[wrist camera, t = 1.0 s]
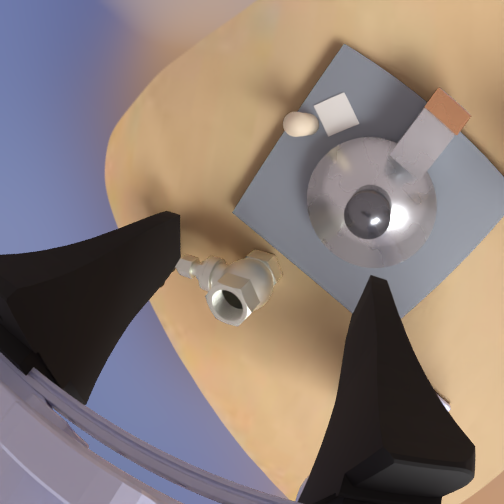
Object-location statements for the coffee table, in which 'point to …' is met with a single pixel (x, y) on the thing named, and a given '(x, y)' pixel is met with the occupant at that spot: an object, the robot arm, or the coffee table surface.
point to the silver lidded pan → (383, 189)
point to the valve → (233, 283)
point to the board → (357, 126)
